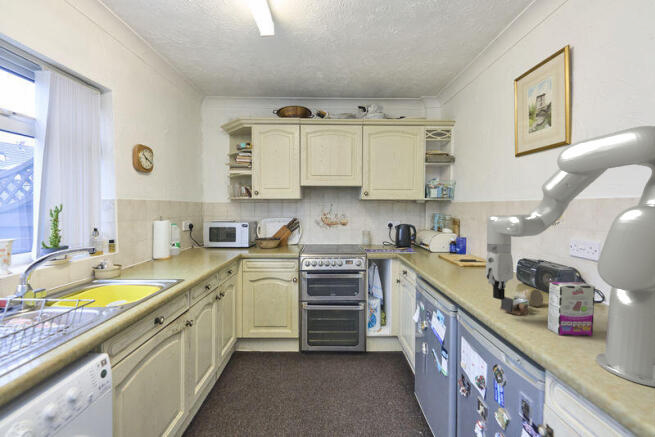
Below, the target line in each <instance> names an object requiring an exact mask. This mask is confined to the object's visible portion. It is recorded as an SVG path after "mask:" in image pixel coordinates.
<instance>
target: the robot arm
mask: <svg viewBox="0 0 655 437" xmlns="http://www.w3.org/2000/svg"><path fill="white" fill-rule="evenodd" d="M556 164H557V166H558V169H557V170H556V171H555V173H553V174H552V176H550V177H549V178H548V179H547V180H546V181H545V182H544V183H543V184H542V185H541V190H542V194H543V197H542V200H541V201H540V203H539V204H538V205H537V206H536V207H535V208H534V209H533V210H531V212H530V213H528V214H511V215H503V214H502V215H500V214H499V215H496V214H495V215H489V216H487V218H486V253H487V254H486V260H485V261H486V262H485V278H486V279H487V280H488V284H490V285H491V287H492V297H493V299H497V300H500V301H501V300H503V299H505V297H506V296H505V295H506V294H505V291H506V290H505V288H506V287H507V286H506V284H507V282H508V281H510V280H513V279H514V260H513V255H512V237H515V238H523V237H535V236H538V235H541V234H542V233H543V232H545V231H546V230H548V229H549V227H551V226H552V225H553V224H555V223H556V222H557V221H558V220H559V219H560V218H561V217H562V216H563V214H564V212H565V211H566V210H567V208H568V207H569V206H570V203H571V202H572V201H573V200H574V199H575V198H576V197H577V196H579V195H580V194H581V193H582V192H583V191H584V190H585V189H586V188H588V187H589V186H590V185H591V184H592V183H594V182H595V181H596V180H597V179H598V178H599V177H601V175H603V174H604V173H605V172H607V170H608V169H614V168H619V167H625V166H632V165H637V166H642V167H647V168H649V169H651V175H650V177H649V179H648V180H647V181H646V184H645V185H644V188H643V191H642V195H641V197H640V198H639V201H638V203H637V205H634V206H631V207H628V208H626V209H624V210H623V211H621V212H620V213H618V215H617V216H616V217H614V220H613V221H612V223H611V225H610V228H609V230H608V232H607V234H606V238H605V240H604V243H603V246H602V249H601V251H600V253H599V254H600V255H598V256H599V257H598V261H597V266H596V267H597V272H598V275H599V277H600V278H601V280H603V281H604V282H605V283H606V284H607V285H609V286H610V287H611V290H610V293H609V302H608V314H607V323H606V324H607V326H606V338H605V339H606V341H605V351H604V352H602V353H598V354H597V355H596V360H595V361H596V362H597V363H598V365H600V366H601V367H602V368H603V369H604V370H607V371H608V372H610V373H612V374H614V375H616V376H618V377H619V378H623V379H626V380H628V381H631V382H634V383H636V384H641V385H644V386H648V387H655V126H653V125H644V126H643V125H642V126H636V127H632V128H626V129H623V130H619V131H616V132H612V133H608V134H603V135H599V136H595V137H592V138H588V139H585V140H581V141H577V142H575V143H572V144H570V145H568V146H566V147H565V148H564V149H563V150H562V151H561V152H560V153H559V154H558V157H557V160H556Z"/></svg>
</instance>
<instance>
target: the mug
mask: <svg viewBox="0 0 655 437" xmlns="http://www.w3.org/2000/svg"><path fill="white" fill-rule="evenodd" d="M514 296H517V297H521V298H524V299H527V300H529V306H531V307H538V308H539V307H541V306H542V305H543V303H544V296H543V294H542V292H541V291H540V290H538V289H535V288H529V289H525V290H523V291H516V292H515V293H514ZM512 299H513V298H512ZM513 300H514V299H513Z"/></svg>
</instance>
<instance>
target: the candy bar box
mask: <svg viewBox="0 0 655 437" xmlns="http://www.w3.org/2000/svg"><path fill="white" fill-rule="evenodd" d="M548 283H549V286H548V287H549V288H548V309H547V310H548V311H547V329H548V330H549V331H551V332H553V333H554V334H556V335H558V336H576V337H577V336H587V337H588V336H589V337H590V336H593V335H594V313H595V312H594V311H595V297H596V296H595V295H596V294H595V293H596V286H595V285H592V284H589V283H586V282H580V281H579V282H578V281H577V282H575V281H574V282H573V281H572V282H571V281H569V282H567V281H566V282H565V281H562V282H559V281H554V282H553V281H550V282H548Z"/></svg>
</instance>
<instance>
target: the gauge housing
mask: <svg viewBox="0 0 655 437" xmlns="http://www.w3.org/2000/svg"><path fill="white" fill-rule="evenodd" d="M499 310H500V311H504V312H506V313H510V314H513V315H516V316H519V317H520V316H524V315H526V314H528V313H529V308H528V304H527V303H522V304H519V309H517V310H513V311H512V312H509V311H506V310H503V309H501V306H499Z"/></svg>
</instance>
